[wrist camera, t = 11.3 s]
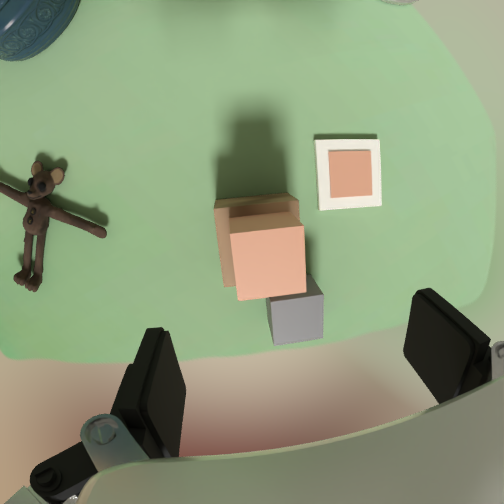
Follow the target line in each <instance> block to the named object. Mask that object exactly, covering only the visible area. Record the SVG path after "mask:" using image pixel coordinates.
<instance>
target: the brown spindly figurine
mask: <svg viewBox="0 0 504 504" xmlns="http://www.w3.org/2000/svg"><path fill="white" fill-rule="evenodd" d="M31 172H32V175H33V178H29V180H28V185H29V186H30V190H29V191H28V192H25V193H24V192H21V191H18V190H16V189H13V188H12V187H10V186H8V185H5V184H4V183H1V182H0V192H1V193H3V194H5V195H7V196H8V197H10V198H12V199H14V200H15V201H17V202H19V203H21V204H22V205H24V206H26V207H28V209H27V212H26V214H25V216H24V218H23V227H24V229H25V230H26V232H25V238H24V242H25V245H24V256H23V259H24V263H23V266H22V270H21V271H20V272H18V273H16V274H15V275H14V281H15V282H16V283H17V284H20V285H21V286H23V285H24V284H25V288H28V290H29V291H31V290H32V291H33V292H36V291H37V290H38V288H39V286H40V284H41V283H42V273H43V253H44V243H45V235H46V231H47V228H48V227H49V223H48V220H49V217H51V218H53V219H56V220H59V221H62V222H64V223H67V224H70V225H73V226H75V227H78V228H81V229H83V230H85V231H88V232H90V233H91V234H93V235H95V236H97V237H99V238H105V237H106V235H107V232H106V229H105V228H103V227H102V226H99V225H97V224H95V223H92V222H90V221H87V220H85V219H83V218H80V217H78V216H75V215H73V214H71V213H68V212H66V211H64V210H63V209H62V208H58V207H55V206H53V205H52V204H51V203H50V201H49V200H48V199H47V198H45V197H44V196H46V195H48V194H50V193H51V192H52V191H53V190H54V188H55V185H59V184H61V183H62V181H63V179H64V176H65V175H64V171H63V170H62V169H61V168H59V167H56V168H54V169H53V170H52V171H47V170H45V171H43V166H42V163H41V162H40V161H36V162H34V163H33V165H32V168H31ZM33 235H37V244H36V256H35V266H34V270H33V271H34V275H33V276H32V277H31V256H32V241H33ZM30 277H31V278H30Z"/></svg>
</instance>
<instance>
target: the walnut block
mask: <svg viewBox="0 0 504 504" xmlns="http://www.w3.org/2000/svg"><path fill="white" fill-rule="evenodd" d="M279 212H290V213H291V214H292V215H293V216H294V217H295V218H296V219H298V220H299V221H300V217H299V200H297V199H296V198H295V197H293V196H292V195H290V194H289V193H277V194H267V195H257V196H247V197H237V198H228V199H220V200H216V201H215V205H214V216H215V224H216V231H217V239H218V247H219V254H220V262H221V269H222V276H223V283H224V287H231V286H236V280H235V272H234V264H233V256H232V248H231V240H230V229H229V218H233V217H242V216H251V215H260V214H269V213H279Z"/></svg>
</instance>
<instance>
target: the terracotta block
mask: <svg viewBox="0 0 504 504" xmlns="http://www.w3.org/2000/svg"><path fill="white" fill-rule="evenodd" d="M229 229H230V240H231V248H232V256H233V264H234V272H235V280H236V288H237V296H238V301H243V300H251V299H259V298H267V297H274V296H282V295H289V294H297V293H304V292H306V264H305V240H304V225H303V224H302V223H301V222H300V221H299V220H298V219H296V218H295V217H294V216H293V215H292V214H291V213H290V212H279V213H269V214H260V215H251V216H242V217H233V218H229Z"/></svg>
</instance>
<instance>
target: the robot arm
mask: <svg viewBox="0 0 504 504" xmlns="http://www.w3.org/2000/svg"><path fill="white" fill-rule="evenodd" d="M381 1H384V2H387V3H390V4H396V5H409V4H413V3H414V2H416V1H418V0H381ZM490 340H491V339H490V338H489V337H488V336H487V335H486V334H484V332H482V331H481V330H480V329H479V328H478V327H477V326H476V325H474V324H473V323H472V322H471V321H470V320H469V319H468V318H466V317H465V316H464V315H463V314H462V313H460V312H459V311H458V310H457V309H456V308H455V307H453V306H452V305H451V304H450V303H449V302H447V301H446V300H445V299H444V298H443V297H441V296H440V295H439V294H438V293H436V292H435V291H434V290H433V289H431V288H426V289H421V290H418V291H417V292H416V293H415V295H413V298H412V304H411V310H410V316H409V322H408V328H407V333H406V338H405V344H404V348H403V352H404V356H405V358H406V359H407V360H408V362H409V363H410V364H411V366H412V367H413V368H414V370H415V371H416V372H417V374H418V375H419V376H420V378H421V379H422V381H423V382H424V383H425V385H426V386H427V387H428V389H429V390H430V392H431V393H432V394H433V396H434V397H435V399H436V400H437V401H438V403H439V405H436V406H434V407H431V408H429V409H426V410H424V411H421V412H418V413H415V414H413V415H410V416H407V417H404V418H401V419H398V420H395V421H392V422H389V423H386V424H383V425H380V426H377V427H373V428H370V429H366V430H362V431H359V432H356V433H351V434H347V435H344V436H339V437H335V438H331V439H326V440H322V441H317V442H312V443H307V444H301V445H296V446H290V447H284V448H278V449H270V450H263V451H254V452H245V453H235V454H224V455H210V456H189V457H179V448H180V438H181V430H182V421H183V413H184V405H185V397H186V386H185V383H184V380H183V376H182V373H181V370H180V367H179V364H178V360H177V357H176V354H175V350H174V347H173V344H172V340H171V337H170V333H169V331H164V329H163V328H162V327H159V328H147V329H146V332H145V334H144V337H143V339H142V342H141V344H140V347H139V350H138V352H137V355H136V357H135V360H134V363H133V364H129V365H128V367H127V369H126V371H125V374H124V377H123V379H122V382H121V385H120V387H119V390H118V393H117V395H116V399H115V401H114V404H113V407H112V409H111V412H110V414H101V415H97V416H94V417H92V418H91V419H89V420H87V421H86V423H85V424H84V425H83V427H82V429H81V432H80V437H81V440H82V441H81V442H79V443H77V444H76V445H74V446H72V447H70V448H68V449H66V450H65V451H63V452H61V453H59V454H57V455H55V456H53V457H51V458H49V459H47V460H46V461H44V462H42V463H40V464H38V465H37V466H36V467H35V468H34V469H33V470H32V473H31V475H30V484H31V485H30V486H29V487H28V488H26V487H25V486H23V487H22V488H21V489H20V490H19V491H17V492H16V493H15V494H14V495H13V496H12V497H11V498H10V499H9V500H8V501H7V502H5V503H4V504H504V341H500V342H496V343H495V344H494V345H493V346H492V348H491V347H490V346H489V343H490Z"/></svg>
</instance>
